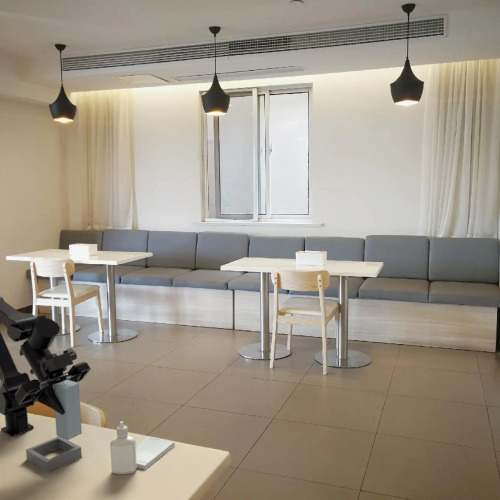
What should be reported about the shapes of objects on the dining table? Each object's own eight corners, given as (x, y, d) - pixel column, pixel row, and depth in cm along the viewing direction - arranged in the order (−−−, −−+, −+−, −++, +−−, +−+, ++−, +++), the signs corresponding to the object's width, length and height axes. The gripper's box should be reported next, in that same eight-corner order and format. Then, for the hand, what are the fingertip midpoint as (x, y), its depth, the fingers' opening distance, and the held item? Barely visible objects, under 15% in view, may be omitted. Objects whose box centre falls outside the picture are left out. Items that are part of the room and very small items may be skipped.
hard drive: (148, 436, 137) (117, 458, 126) (174, 441, 133) (144, 464, 122) (148, 442, 137) (117, 464, 126) (174, 447, 133) (145, 471, 122)
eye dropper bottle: (127, 478, 119) (124, 428, 117) (108, 472, 121) (105, 423, 120) (140, 469, 122) (137, 420, 121) (122, 463, 125) (119, 416, 124)
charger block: (56, 435, 128) (53, 384, 127) (70, 429, 132) (67, 379, 130) (68, 440, 126) (65, 388, 124) (81, 433, 129) (78, 383, 128)
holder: (26, 459, 128) (25, 449, 128) (60, 444, 135) (59, 435, 135) (47, 472, 122) (46, 462, 122) (81, 456, 129) (81, 447, 129)
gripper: (18, 351, 120) (51, 407, 116) (84, 331, 136) (115, 380, 131) (1, 377, 126) (32, 432, 121) (66, 355, 141) (96, 403, 136)
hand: (71, 410), depth 127 cm, fingers closed on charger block, 4 cm apart
